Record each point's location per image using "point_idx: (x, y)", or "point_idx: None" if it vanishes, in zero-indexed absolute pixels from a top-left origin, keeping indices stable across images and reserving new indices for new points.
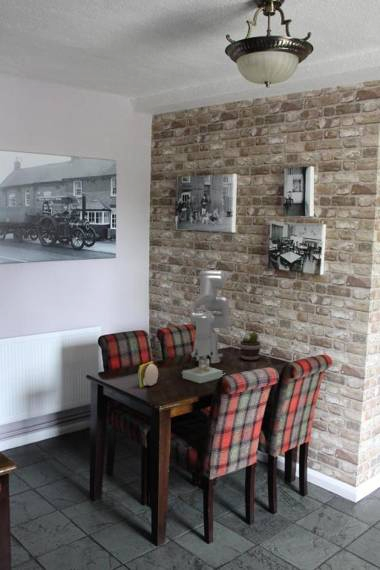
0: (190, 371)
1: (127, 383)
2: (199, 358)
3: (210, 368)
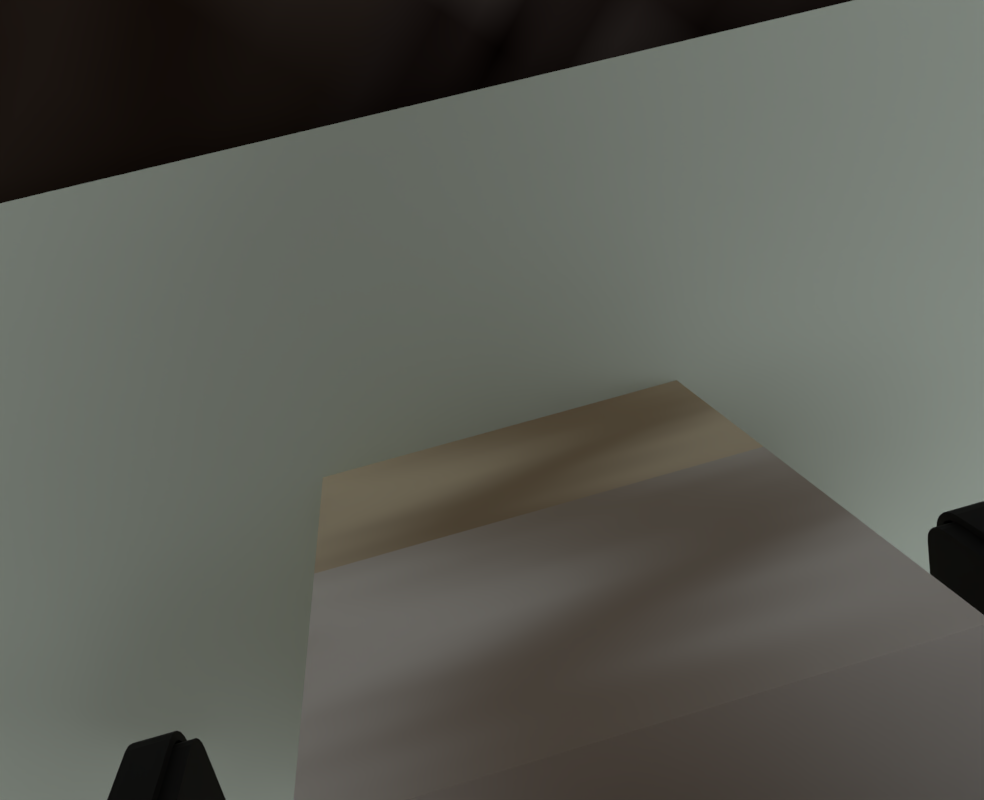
0: (71, 461)
1: None
2: (635, 764)
3: (951, 431)
